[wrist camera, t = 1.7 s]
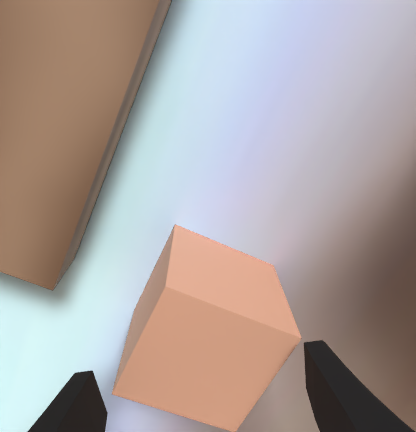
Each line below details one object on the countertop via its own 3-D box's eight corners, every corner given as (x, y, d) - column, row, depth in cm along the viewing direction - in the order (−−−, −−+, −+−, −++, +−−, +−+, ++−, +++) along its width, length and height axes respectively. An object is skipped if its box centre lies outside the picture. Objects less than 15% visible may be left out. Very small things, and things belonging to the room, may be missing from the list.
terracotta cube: (273, 264, 17) (301, 338, 12) (225, 341, 18) (234, 432, 14) (175, 223, 16) (165, 286, 11) (134, 308, 17) (111, 394, 13)
